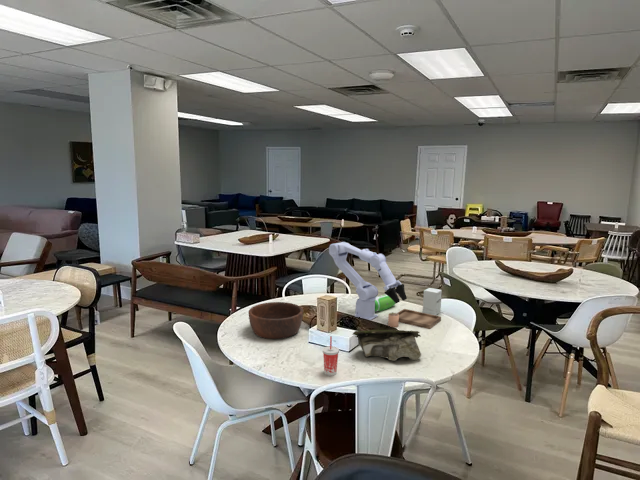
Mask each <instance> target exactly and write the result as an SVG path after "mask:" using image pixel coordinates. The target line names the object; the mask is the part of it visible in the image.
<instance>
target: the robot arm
mask: <svg viewBox="0 0 640 480" xmlns="http://www.w3.org/2000/svg"><path fill="white" fill-rule="evenodd" d="M328 254H329V255H330V256H331V257H332V260H333V261H334V264H335V266H336V267H337V268H338V269H339V270H340V271H341V272H342V274H343V275H345V276H346V278H347V279H348V280H349V281H350V282H351V283H352V285H353V286H354V287H355V288H356V289H355V293H356V294H357V297H358V298H357V299H356V302H355V314H354V317H355V318H359V317H360V319H365V320H368V321H372V320H373V319H375V318H377V317H378V316H379V315H378V314H375V313H376V312H375V299H376V297H378V296H379V295H378V294H379V289H378V288H377V286H375V285H373V284H372V283H371V282H368V281H367V280H365V279H364V278H363V277H362V276H361V275H360V274H359V273H358V272H357V270H355V269H354V268H353V266H352V265H351V264H350V263H349V262H348V261H347V257H348V254H352V255H355V256H357V257H358V258H359V259H360V260H361V261H363V262H366V263H368V264H370V266H371V267H373V268H374V269H375V270H376V271H377V273H378V275H379V276H380V278H381V280H382V282H383V283H384V286H383V290H384V295H385V294H386V295H388V296H389V297H390V298H391V299H392V300H393V301H394V302H395V303H396V304H398V303H400V302H401V301H400V299H401V300H402V301H406V300H407V299H408V297H407V293H406V291H405V284H404V283H402V282H401V281H400V280H399V279H398V280H397V279H396V277H395V275H394V274H393V272H392V271H391V269H390V267H389V265H388V263H387V257H386V256H385V255H384V254H383V253H378V254H377V252H373V251H370V249H369V248H363V249H360V248H358V247H356V246H354V245H351V244H350V243H349V242H346V241H341V242H336V243H331V244H329V247H328Z"/></svg>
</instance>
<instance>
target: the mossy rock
mask: <svg viewBox="0 0 640 480" xmlns="http://www.w3.org/2000/svg"><path fill="white" fill-rule="evenodd" d="M351 335H353V336H354V335H355V338H357V341H358V343H359V346H360V348H361V350H362V352H363V355H364V357H365V358H368V357H371V356H372V357H373V356H374V357H382V358H385V359H386V358H387V359H388V360H389V361H394V362H395V361H397V360H398V359H400V358H402V357H406V358H409V360H411V361H417V360H419V359H420V358H421V356H422V353H421V351H420V346H419V345H418V343H417V340H416V338H419V337H422V336H421V335H420V331H419V330H402V329H401V330H395V329H393V330H391V329H389V330H388V329H371V330H355V331H354V332H353V333H352V334H351Z"/></svg>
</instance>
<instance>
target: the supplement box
mask: <svg viewBox="0 0 640 480" xmlns="http://www.w3.org/2000/svg"><path fill="white" fill-rule="evenodd" d="M442 291H443V290H442V289H438V288H433V287H427V288H426V289H424V290H423V299H422V313H427V314H431V315H436V316H438V315H439V314H440V313H441V309H442V308H441V307H442V293H443V292H442Z"/></svg>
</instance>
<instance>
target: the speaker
mask: <svg viewBox="0 0 640 480" xmlns="http://www.w3.org/2000/svg"><path fill="white" fill-rule="evenodd" d="M396 304H397V303H395V302H394V301H393V300H392V299H391V298H390V297H389V296H388V295H386V294H385V293H384V294H382V295H377V297H376V299H375V313H376V312H382V311H384V310H388V309H391V308H392V307H394V306H395V305H396Z"/></svg>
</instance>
